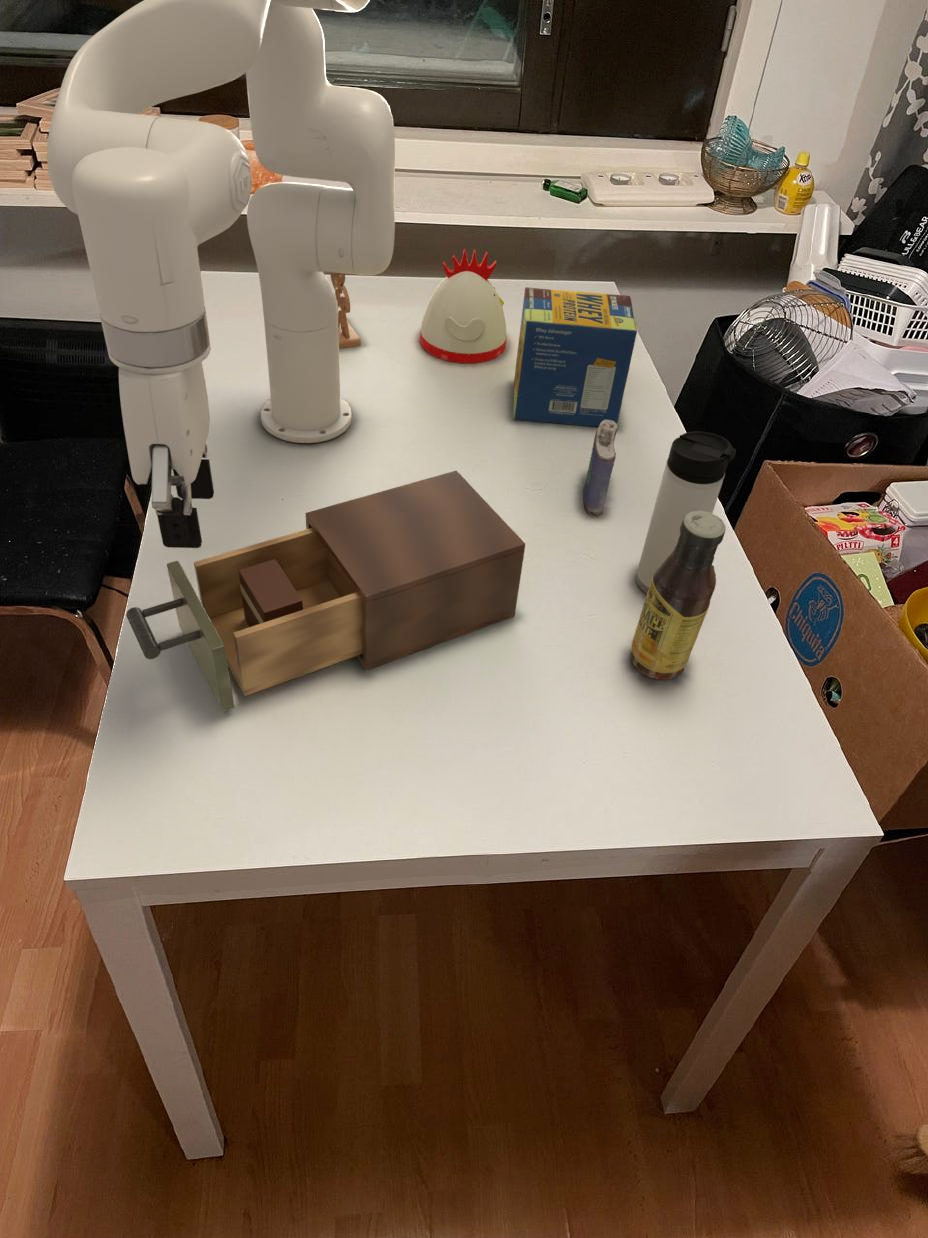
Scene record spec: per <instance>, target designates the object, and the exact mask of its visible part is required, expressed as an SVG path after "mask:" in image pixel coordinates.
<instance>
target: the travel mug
mask: <svg viewBox="0 0 928 1238" xmlns="http://www.w3.org/2000/svg"><path fill="white" fill-rule="evenodd" d="M736 452H737V448H735V447H733V446H732V444H731V442H730V440H728V439H727V438H726V437H723V436H721V435H720V434H716V433H713V432H708V431H689V432H684V433H683V434H680V435H679V437H676V438H675V439H674V440H673V441H672V442H671V447H670V450H669V453H668V458H667V459H666V463H665V466H664V470H663V474H662V478H661V481H660V485H659V489H658V493H657V496H656V500H655V504H654V507H653V511H652V514H651V519H650V522H649V526H648V529H647V534H646V537H645V541H644V544H643V547H642V548H643V549H642V551H641V555H640V560H639V563H638V566H637V571H636V574H635V581H636V584H637V587H638V588H639V589H640V590H641V591H642V592H643V593H645V594H646V595H647V593H648V590H649V586H650V584H651V580H652V577H653V575H654V573H655V572H656V570H657V569H658V568H659V567H660V566H661V565H662V563H663V562H664V561H665V560H666V559H667V558H668V556H669V555H670V554H671V553H672V552H673V551H674V548H675V546H676V545H677V542H678V539H679V536H680V526H681V524H682V521H683V519H684V517H685V516H686V515H687V514H689V513H690V512H693V511H706V512H710V513H712V514H714V510H715V507H716V504H717V501H718V498H719V494H720V491H721V488H722V485H723V482H724V479H725V476H726V470H727V468H728V465H729V462H732V460H733V459H734V458H736V457H735V456H736Z"/></svg>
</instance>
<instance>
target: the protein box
mask: <svg viewBox="0 0 928 1238" xmlns="http://www.w3.org/2000/svg"><path fill="white" fill-rule="evenodd" d="M522 302H523V303H522V311H521V312H522V313H521V321H520V329H519V337H518V345H517V353H516V362H515V369H514V370H515V371H514V378H513V413H512V414H513V415H512V416H513V417H512V418H513V420H515V421H516V420H518V421H529V422H537V423H538V422H540V423H549V424H550V423H551V424H562V425H563V424H564V425H572V426H574V425H575V426H587V427H597V428H598V427H599V424H600V423H601V422H602V421H603V420H612V421H614V422H615V423H617V424H618V423H619V417H620V415H621V414H620V413H621V408H622V404H623V400H624V399H623V398H624V394H625V389H626V385H627V381H628V376H629V371H630V366H631V361H632V357H633V352H634V348H635V343H636V338H637V334H638V329H637V328H638V327H637V325H636V321H635V315H634V309H633V302H632V297H631V296H630V295H626V294H610V293H599V292H588V291H587V292H585V291H575V290H563V289H562V290H561V289H549V288H548V289H547V288H539V287H538V288H537V287H524V293H523V301H522Z"/></svg>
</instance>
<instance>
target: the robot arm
mask: <svg viewBox="0 0 928 1238" xmlns="http://www.w3.org/2000/svg"><path fill="white" fill-rule="evenodd" d="M369 2H370V0H142V1H140V2H138V3H137V4H135V5H134V6H132V7H130V8H129V9H127V10H126V11H124V12H123V13H122V14H120V15H119V16H118V17H116V18H115V19H113V20H112V21H111V22H110V23H108V24H107V25H105V26H104V27H103V28H102V29H99V31H97V32H96V33H95V34H94V35H92V36H91V37H90V38H88V40H86V41H85V42H84V44H83V45H82V46H81V47H80V48H79V49H78V50H77V51H76V53H75V54H74V56H73V57H72V59H71V61H70V62H69V65H68V67H67V69H66V71H65V73H64V77H63V79H62V82H61V86H60V89H59V92H58V96H57V98H56V102H55V104H54V105H55V106H54V109H53V113H52V116H51V120H50V124H49V125H50V126H49V130H48V137H47V145H46V146H47V148H46V160H47V161H46V162H47V171H48V176H49V180H50V184H51V185H52V188H53V191H54V193H55V194H56V196H57V198H58V199H59V201H60V202H61V203H62V204H63V205H64V206H65V208H67V209H68V210H69V211H70V212H72V213H73V214H75V215H77V216H78V221H79V225H80V231H81V234H82V238H83V243H84V247H85V252H86V258H87V261H88V266H89V270H90V275H91V279H92V285H93V289H94V294H95V298H96V303H97V309H98V312H99V317H100V323H101V326H102V331H103V336H104V341H105V345H106V350H107V354H108V357H109V360H110V361H111V362H112V363H113V364H114V365H115V366H117V367H118V388H119V399H120V400H119V401H120V409H121V417H122V423H123V424H122V425H123V431H124V437H125V442H126V449H127V455H128V461H129V467H130V472H131V477H132V480H133V481H134V483H135V484H137V485H139V486H141V485H147V484H148V481H149V478H150V475H151V500H150V501H151V507H152V509H154V511H155V515H156V517H157V521H158V526H159V531H160V536H161V541H162V545H163V546H164V547H165V548H170V549H171V548H172V549H175V548H176V549H177V548H178V549H199V548H201V547H202V544H203V539H202V533H201V532H202V531H201V527H200V521H199V515H198V510H197V509H198V508H197V507H194V506H193V500H211V499H213V498H214V494H215V490H214V483H213V477H212V476H213V475H212V468H211V463H210V459H208V446H207V440H208V436H209V431H210V419H211V418H210V406H209V397H208V396H209V395H208V390H207V384H206V377H205V371H204V366H203V362H204V361H205V360H206V359H207V358H208V357H209V355H210V353H211V351H212V350H211V349H212V348H211V340H210V332H209V331H210V330H209V325H208V317H207V309H206V304H205V297H204V290H203V282H202V281H203V280H202V274H201V267H200V258H199V251H198V247H199V246H200V245H201V244H203V243H205V242H206V241H209V240H210V239H212V238H214V237H216V236H219V235H220V234H222V233H223V232H225V231H227V230H228V229H229V228H231V227H232V226H233V225H234V224H235V223H236V221H237V220H238V219H239V218H240V216H241V215H242V213H243V211H244V210H245V209H246V207H247V209H246V222H247V223H246V225H247V230H248V237H249V240H250V243H251V247H252V251H253V255H254V260H255V263H256V267H257V272H258V273H257V274H258V278H259V285H260V294H261V301H262V302H261V303H262V314H263V315H262V316H263V323H264V334H265V346H266V347H265V348H266V357H267V371H268V381H269V392H270V399H268V400H267V401H266V402H265V403H264V404H263V406H262V407H261V410H260V421H261V425H262V426H263V428H264V429H265V430H266V431H267V432H268V433H269V434H270V435H272V436H274V437H276V438H278V439H280V440H282V441H287V442H291V443H297V444H315V443H322V442H326V441H329V440H332V439H335V438H337V437H339V436H341V435H343V433H344V432H346V431H347V430H348V429H349V427H350V426H351V424H352V419H353V414H352V408H351V406H350V404H348V402H347V401H346V400H344V399H343V398H342V397H341V379H340V378H341V376H340V375H341V373H340V348H339V332H338V311H339V307H338V304H337V299H336V295H335V289H334V287H333V285H332V283H331V282H330V281H329V279H328V277H327V276H326V275H325V273H324V272H326V273H330V272H335V273H344V274H345V275H357V276H377V275H379V274H382V273H383V272H384V271H386V270H387V268H388V267H389V265H390V264H391V263H392V262H391V261H392V258H393V254H394V249H395V235H396V233H395V231H396V191H395V190H396V135H395V123H394V118H393V114H392V111H391V107H390V105H389V103H388V102H387V100H386V99H385V98H384V97H383V96H382V95H381V94H379V93H378V92H376V91H374V90H370V89H367V88H360V87H351V86H344V85H343V86H341V85H333V84H331V83H330V82H329V81H328V79H327V75H326V74H327V72H326V55H325V54H326V53H325V36H324V35H325V34H324V31H323V28H322V25H321V22H320V20H319V18H318V15H317V14H316V12H315V11H314V10H323V11H335V12H343V13H357V12H359V11H361V10H363V9H364V8H366V6H367V5H368V3H369ZM243 75H245V80H246V89H247V91H246V92H247V100H248V109H249V119H250V129H251V137H252V143H253V147H254V148H253V149H254V153H255V155H256V158H257V160H258V162H259V164H260V165H261V166H262V167H263V168H264V169H265V170H267V171H268V172H271V173H274V174H276V175H281V176H285V177H291V178H298V179H299V178H301V179H309V180H319V181H329V182H339V183H346V184H348V185H349V186H350V188H348V187H347V188H346V187H338V186H327V185H322V184H312V183H303V182H291V181H290V182H288V181H282V182H271V183H268V184H265V185H262V186H260V187H258V189H256V190H255V191H254V192H253V194H252V186H253V175H252V168H251V163H250V160H249V156H248V154H247V151H246V149H245V147H244V145H243V144H242V142H241V140H240V139H239V138H238V137H237V136H236V135H235V134H234V133H233V132H232V131H231V130H229V129H227V128H225V127H223V126H220V125H218V124H215V123H212V122H207V121H200V120H193V119H182V118H171V117H163V116H161V115H151V114H141V113H143V112H144V111H146V110H148V109H150V108H152V107H155V106H157V105H159V104H162V103H165V102H168V101H171V100H175V99H178V98H182V97H186V96H191V95H194V94H199V93H202V92H205V91H207V90H210V89H213V88H215V87H219V86H221V85H224V84H227V83H229V82H233V81H234V80H237V79H238V78H240V77H242V76H243ZM251 194H252V196H251ZM172 473H173V475H172ZM172 486H174V487H175V490H176V495H177V496H174V495H173V492H172Z"/></svg>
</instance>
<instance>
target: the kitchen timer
mask: <svg viewBox="0 0 928 1238" xmlns="http://www.w3.org/2000/svg"><path fill="white" fill-rule="evenodd" d="M488 258H489V253H488V251H486V252H485V253H484V256H483V258H482V261H481V262H480V263H478V259H477V251H476V249H473V253H472V257H471V260H470V263H469V262H468V254H467V250H466V248H464V249H463V251H462V256H461V261H460V262H459V261H458V258H457V257H456V255H455V254H453V255H452V264H453V269H450V268H449V267H448V265H447V263H446V261H443V263H442V267H443V271H444V273H445V276H446V277H444V279H442V281H441V282H440V283H439V284H438V285H437V287H436V288H435V289H434V290H433V292H432V294H431V295H430V298H429V300H428V303H427V305H426V307H425V310H424V313H423V315H422V320H421V326H420V335H419V341H420V345H421V347H422V348H423V349H424V350H425V351H426V352H427V353H428V354H430V355H431V356H434V357H436V358H437V359H441V360H443V361H446V362H450V363H457V364H479V363H480V364H481V363H486V362H490V361H492V360H494V359H497V358H498V357H500V356H501V355H502V354H503V353H504V351H505V350H506V346H507V345H506V344H507V323H506V316H505V312H504V307H503V306H504V305H505V302H504V300H503V299H502V298H501V297H500V295H499V294H498V292H497V290H496V287H495V286H494V285H493V283H492V282H491V281H490V280H489V278H490V277H491V275H492V273H493V272H494V270H495V268H496V266H497V261H498V260H497V259H496V260H495V261H493V263H492V264H491V265H488V260H489V259H488Z"/></svg>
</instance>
